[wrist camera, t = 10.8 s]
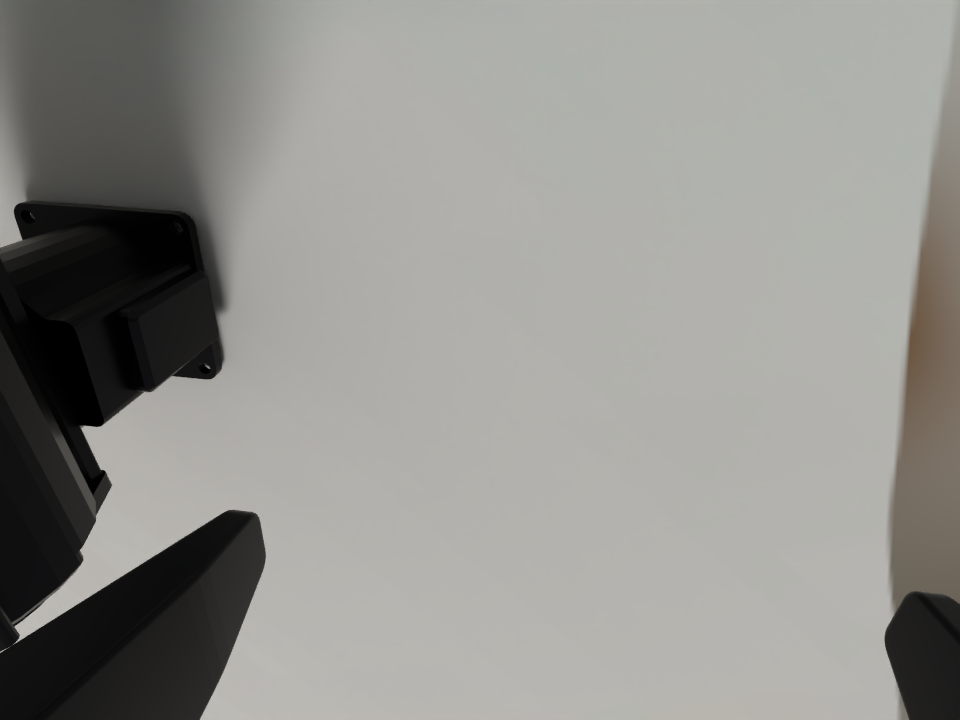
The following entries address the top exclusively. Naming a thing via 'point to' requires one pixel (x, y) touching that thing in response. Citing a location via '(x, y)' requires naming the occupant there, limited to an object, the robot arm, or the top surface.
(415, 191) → the top surface
